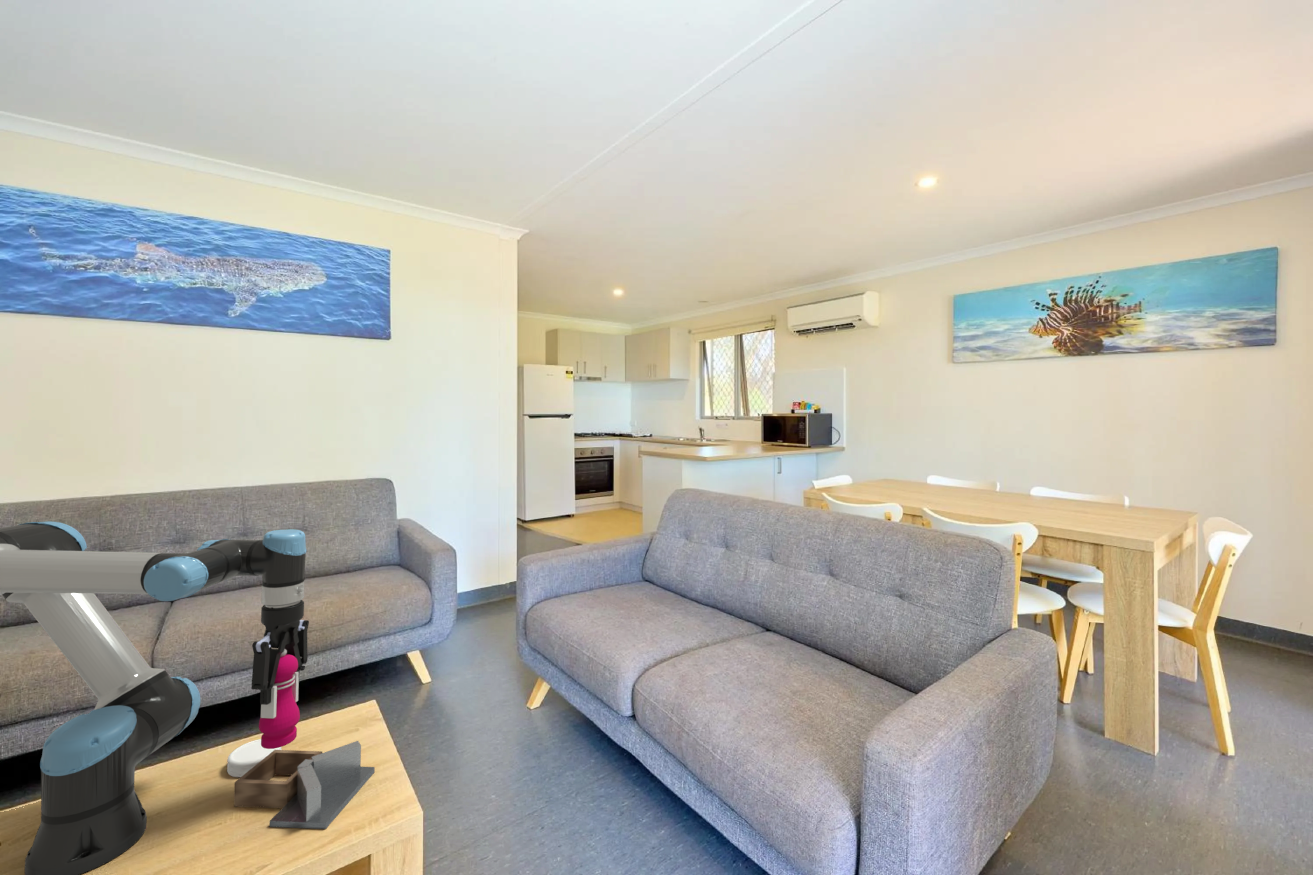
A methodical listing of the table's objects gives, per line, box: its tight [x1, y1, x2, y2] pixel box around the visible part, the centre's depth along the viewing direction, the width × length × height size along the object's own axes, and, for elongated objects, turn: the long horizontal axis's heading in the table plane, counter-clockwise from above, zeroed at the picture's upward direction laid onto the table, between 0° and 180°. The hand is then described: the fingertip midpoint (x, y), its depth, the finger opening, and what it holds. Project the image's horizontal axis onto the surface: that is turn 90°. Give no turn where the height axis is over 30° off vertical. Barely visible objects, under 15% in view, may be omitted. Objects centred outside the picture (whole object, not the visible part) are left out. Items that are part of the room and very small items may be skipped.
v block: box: [269, 740, 376, 830], centre depth 110 cm, size 17×11×7 cm, turn 179°
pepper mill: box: [258, 649, 301, 749], centre depth 112 cm, size 7×7×20 cm
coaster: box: [226, 738, 283, 778], centre depth 121 cm, size 10×10×4 cm
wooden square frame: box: [233, 749, 323, 809], centre depth 112 cm, size 11×11×5 cm
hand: (279, 708), depth 112 cm, fingers closed on pepper mill, 6 cm apart
